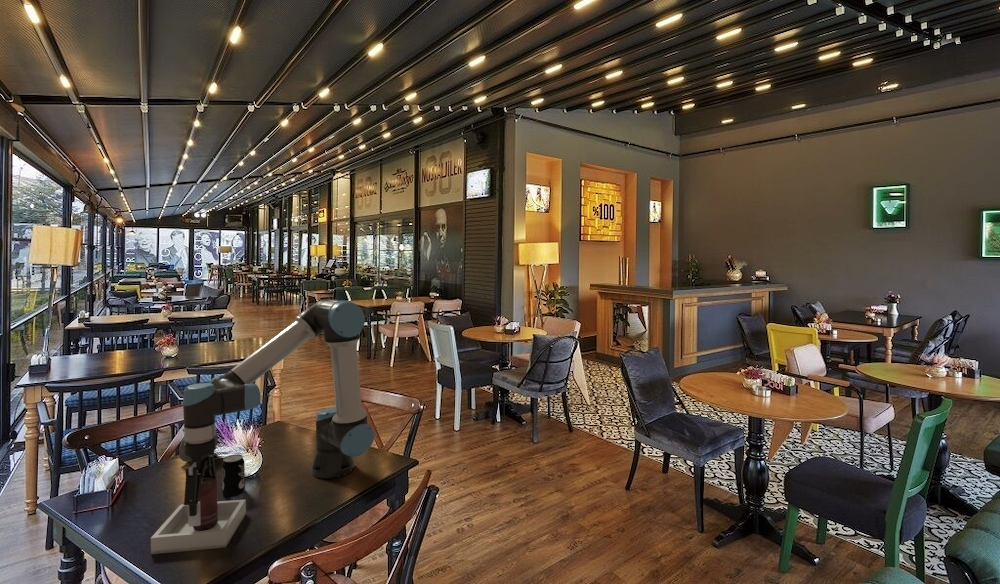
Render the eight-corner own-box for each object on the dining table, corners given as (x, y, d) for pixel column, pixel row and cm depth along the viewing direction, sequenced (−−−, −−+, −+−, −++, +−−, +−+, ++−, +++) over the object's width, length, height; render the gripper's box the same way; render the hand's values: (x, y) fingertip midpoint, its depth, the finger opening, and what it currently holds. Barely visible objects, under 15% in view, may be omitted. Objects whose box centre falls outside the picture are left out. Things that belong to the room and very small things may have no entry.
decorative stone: (206, 449, 199) (205, 413, 198) (226, 453, 196) (225, 416, 195) (171, 464, 184) (170, 425, 183) (192, 468, 181) (191, 428, 180)
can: (187, 531, 138) (186, 484, 137) (201, 520, 145) (200, 474, 144) (209, 532, 138) (208, 484, 137) (222, 520, 145) (221, 474, 144)
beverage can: (235, 498, 159) (234, 462, 159) (217, 496, 161) (217, 460, 160) (249, 489, 166) (248, 454, 165) (232, 487, 167) (231, 453, 166)
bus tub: (246, 513, 150) (245, 499, 150) (225, 547, 133) (225, 531, 132) (181, 518, 147) (180, 504, 146) (151, 554, 129) (150, 538, 129)
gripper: (200, 426, 148) (202, 498, 149) (167, 455, 126) (169, 539, 128) (227, 425, 149) (229, 496, 151) (199, 453, 128) (201, 536, 129)
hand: (201, 516), depth 139 cm, fingers open, 9 cm apart
